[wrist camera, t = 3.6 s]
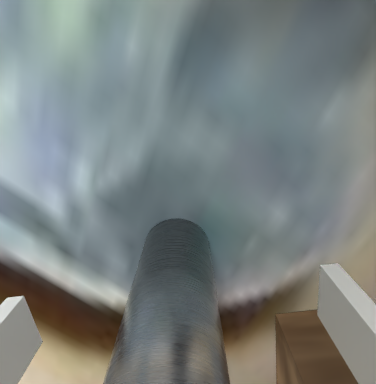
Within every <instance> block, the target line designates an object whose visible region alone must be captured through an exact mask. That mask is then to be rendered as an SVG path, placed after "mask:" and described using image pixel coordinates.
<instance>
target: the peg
mask: <svg viewBox="0 0 376 384" xmlns="http://www.w3.org/2000/svg"><path fill="white" fill-rule="evenodd" d="M103 384H230V380H229V374H228V367H227V360H226V354H225V347H224V340H223V334H222V327H221V320H220V314H219V307H218V300H217V293H216V287H215V280H214V273H213V267H212V260H211V253H210V247H209V241H208V238H207V236H206V234H205V232H204V231H203V230H202V229H201V228H200V227H199V226H198V225H196V224H195V223H193V222H191V221H188V220H184V219H169V220H165V221H163V222H160V223H159V224H157V225H156V226H154V227H153V228H152V229H151V230H150V232H149V233H148V235H147V237H146V240H145V243H144V247H143V250H142V254H141V257H140V260H139V264H138V267H137V271H136V274H135V277H134V281H133V284H132V287H131V291H130V294H129V298H128V301H127V304H126V308H125V311H124V314H123V318H122V321H121V325H120V328H119V331H118V335H117V338H116V342H115V345H114V348H113V352H112V355H111V358H110V362H109V365H108V369H107V372H106V375H105V379H104V382H103Z"/></svg>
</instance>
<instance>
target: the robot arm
mask: <svg viewBox="0 0 376 384" xmlns="http://www.w3.org/2000/svg"><path fill="white" fill-rule="evenodd" d="M317 315H318V317H319V319H320V320H321V322H322V324H323V325H324V327H325V329H326V330H327V332H328V334H329V335H330V337H331V339H332V340H333V342H334V344H335V345H336V347H337V349H338V350H339V352H340V354H341V355H342V357H343V359H344V360H345V362H346V364H347V365H348V367H349V369H350V370H351V372H352V374H353V375H354V377H355V379H356V380H357V382H358V384H376V304H375V303H374V302H373V301H372V300H371V298H370V297H369V296H368V295H367V294H366V293H365V292H364V291H363V290H362V289H361V288H360V286H359V285H358V284H357V283H356V282H355V281H354V280H353V279H352V278H351V277H350V276H349V274H348V273H347V272H346V271H345V270H344V269H343V268H342V267H341V266H340V265H339V264H338V263H335V264H325V265H320V275H319V293H318V311H317ZM42 342H43V341H42V339H41V336H40V334H39V332H38V329H37V327H36V324H35V322H34V320H33V317H32V315H31V312H30V310H29V308H28V305H27V303H26V300H25V298H24V296H19V297H9V298H6V300H5V301H4V302H3V303H2V304H1V305H0V384H18V382H19V381H20V379H21V377H22V376H23V374H24V372H25V371H26V369H27V367H28V366H29V364H30V362H31V360H32V359H33V357H34V355H35V354H36V352H37V350H38V349H39V347H40V345H41V344H42Z"/></svg>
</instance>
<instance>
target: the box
mask: <svg viewBox="0 0 376 384" xmlns="http://www.w3.org/2000/svg"><path fill="white" fill-rule="evenodd" d="M317 311H318V310H312V311H302V312H291V313H281V314H276V377H277V384H358V382H357V380H356V379H355V377H354V375H353V374H352V372H351V370H350V369H349V367H348V365H347V364H346V362H345V360H344V359H343V357H342V355H341V354H340V352H339V350H338V349H337V347H336V345H335V344H334V342H333V340H332V339H331V337H330V335H329V334H328V332H327V330H326V329H325V327H324V325H323V324H322V322H321V320H320V319H319V317H318V315H317Z"/></svg>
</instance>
